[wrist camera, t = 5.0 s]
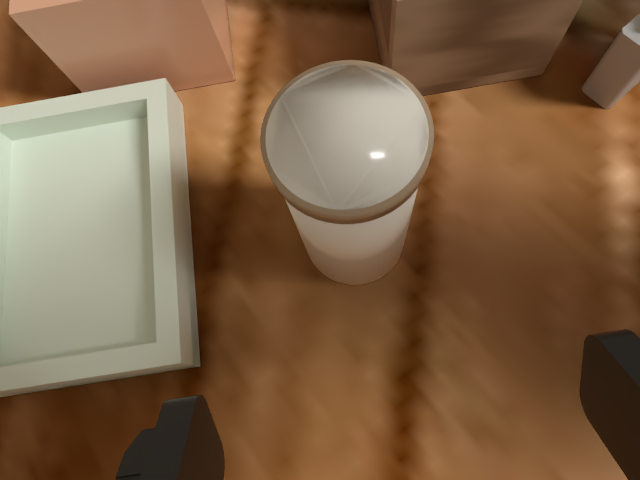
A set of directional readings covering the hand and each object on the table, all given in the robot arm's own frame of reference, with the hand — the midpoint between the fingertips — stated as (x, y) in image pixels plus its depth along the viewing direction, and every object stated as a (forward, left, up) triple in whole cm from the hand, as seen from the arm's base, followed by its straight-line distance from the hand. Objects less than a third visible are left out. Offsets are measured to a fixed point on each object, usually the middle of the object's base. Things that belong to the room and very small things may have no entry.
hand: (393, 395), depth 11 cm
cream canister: (0, -7, -12) cm, 14 cm away
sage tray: (+13, -9, -12) cm, 20 cm away
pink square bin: (+9, -21, -12) cm, 26 cm away
